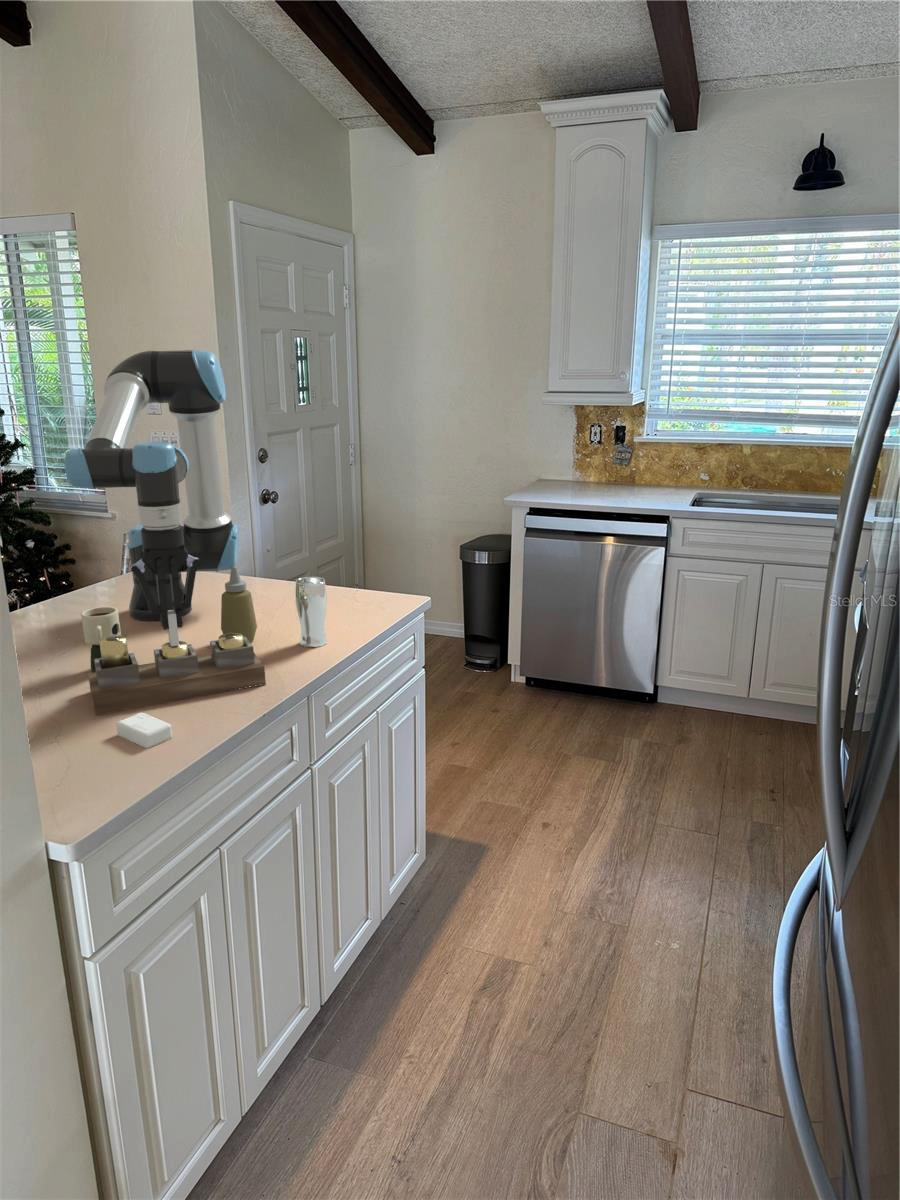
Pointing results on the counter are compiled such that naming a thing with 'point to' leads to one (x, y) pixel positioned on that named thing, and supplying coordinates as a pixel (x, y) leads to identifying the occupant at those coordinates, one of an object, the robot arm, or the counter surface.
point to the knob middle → (174, 650)
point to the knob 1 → (114, 651)
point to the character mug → (99, 628)
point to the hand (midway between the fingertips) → (174, 643)
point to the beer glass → (311, 610)
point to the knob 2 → (230, 641)
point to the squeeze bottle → (237, 608)
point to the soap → (144, 730)
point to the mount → (174, 677)
